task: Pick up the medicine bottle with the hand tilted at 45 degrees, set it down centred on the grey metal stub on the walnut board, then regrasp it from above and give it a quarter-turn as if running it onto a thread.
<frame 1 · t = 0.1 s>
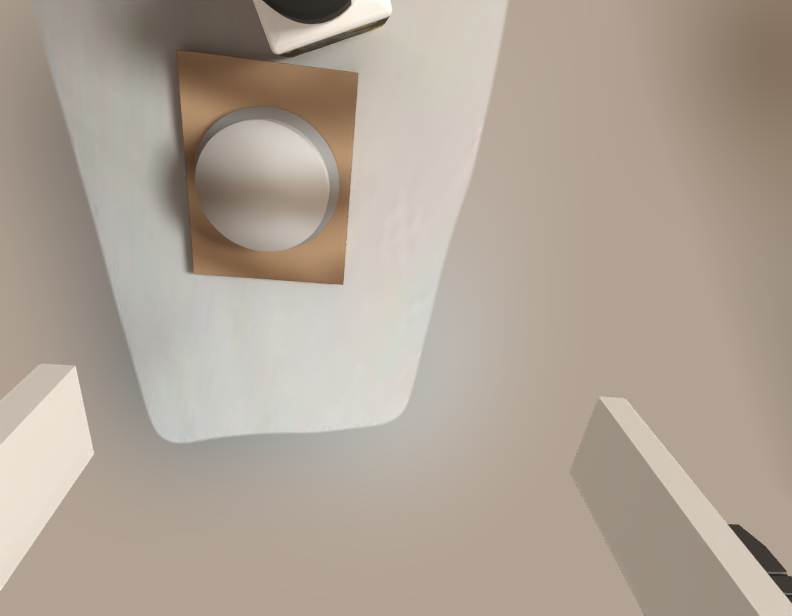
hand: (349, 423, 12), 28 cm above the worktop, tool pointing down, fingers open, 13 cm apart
stub board: (271, 178, 36), on the worktop
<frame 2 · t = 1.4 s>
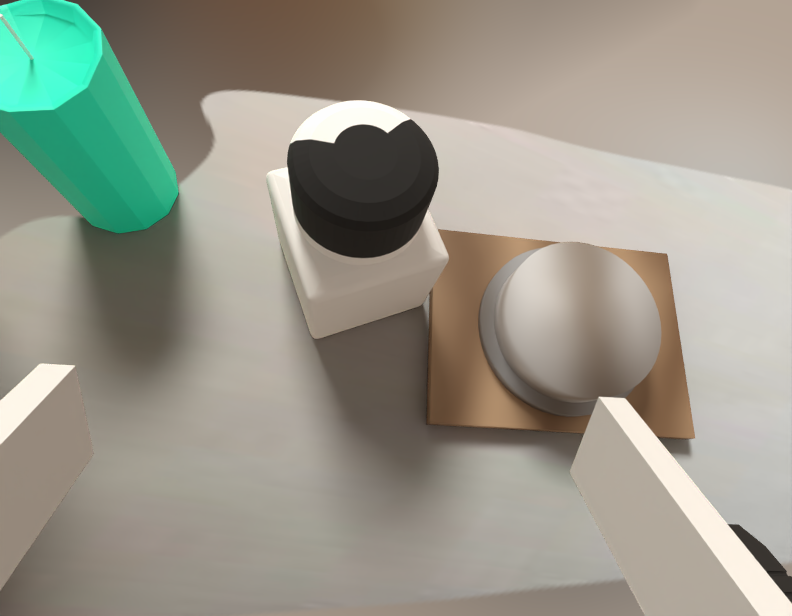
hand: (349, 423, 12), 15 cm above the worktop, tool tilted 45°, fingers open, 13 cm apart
stub board: (552, 334, 30), on the worktop
candle: (128, 191, 29), on the worktop
medicine bottle: (350, 272, 30), on the worktop
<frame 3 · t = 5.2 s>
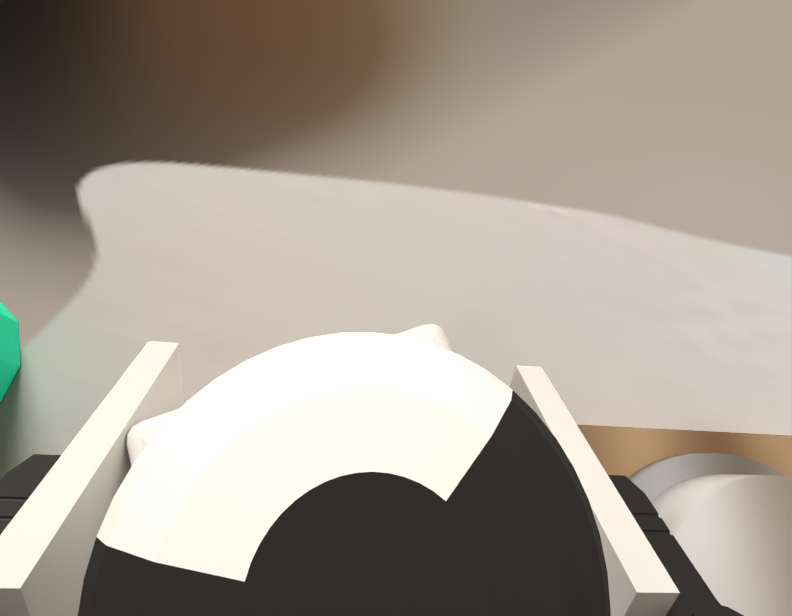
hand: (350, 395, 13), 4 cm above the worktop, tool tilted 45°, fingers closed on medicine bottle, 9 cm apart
stub board: (704, 609, 17), on the worktop
medicine bottle: (338, 505, 16), on the worktop, touching gripper
when the fingers open (9 cm above the worktop, at t = 9.1 s): medicine bottle drops 1 cm, resting on stub board.
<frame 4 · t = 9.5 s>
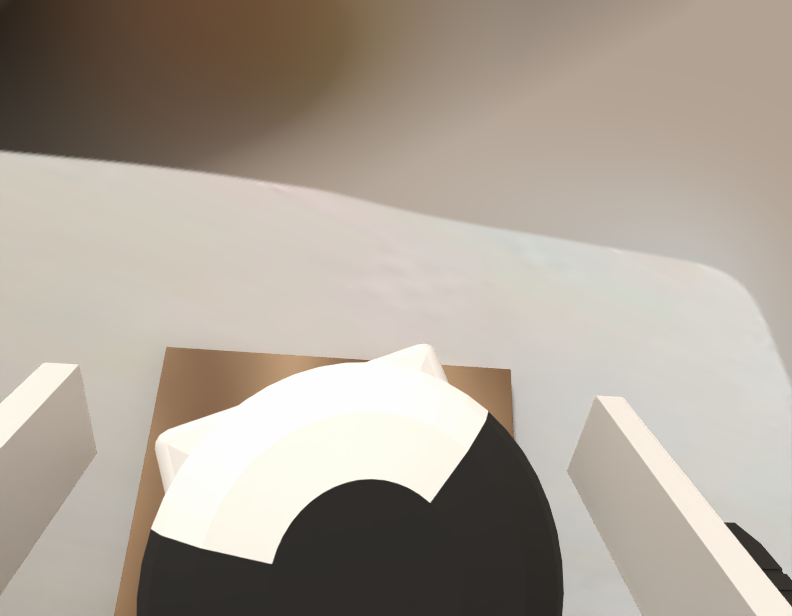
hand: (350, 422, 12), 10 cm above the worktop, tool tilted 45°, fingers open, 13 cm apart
stub board: (335, 495, 21), on the worktop
medicine bottle: (338, 504, 18), point 4 cm above the worktop, touching stub board
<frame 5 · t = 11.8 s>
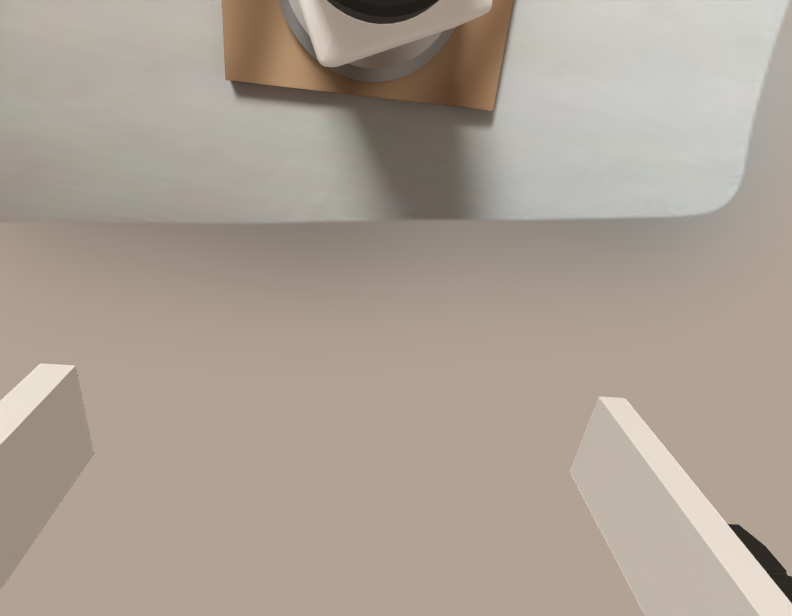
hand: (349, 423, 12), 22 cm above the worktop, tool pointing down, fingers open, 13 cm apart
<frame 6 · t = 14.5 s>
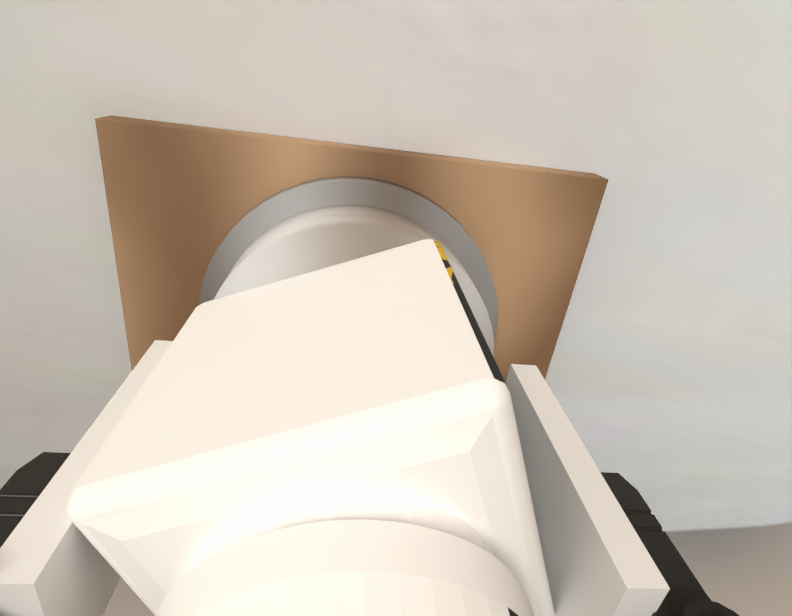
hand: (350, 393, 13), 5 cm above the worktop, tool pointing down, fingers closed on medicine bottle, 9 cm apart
stub board: (352, 307, 18), on the worktop
medicine bottle: (352, 365, 15), point 4 cm above the worktop, touching gripper, stub board
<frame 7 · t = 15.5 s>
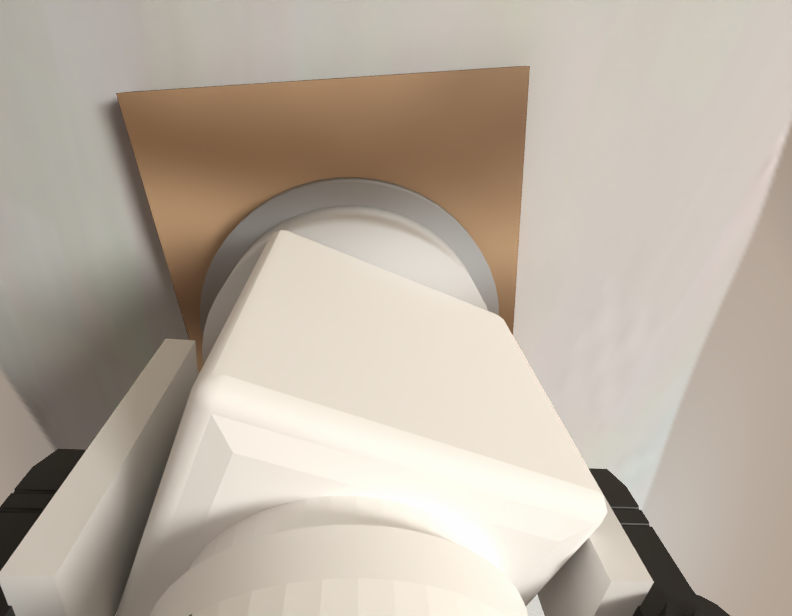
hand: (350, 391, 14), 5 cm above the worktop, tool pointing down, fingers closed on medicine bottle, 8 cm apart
stub board: (353, 308, 18), on the worktop
medicine bottle: (350, 365, 15), point 4 cm above the worktop, touching gripper, stub board
when the fingers open (5 cm above the worktop, at t = 15.5 s): medicine bottle stays where it is, resting on stub board.
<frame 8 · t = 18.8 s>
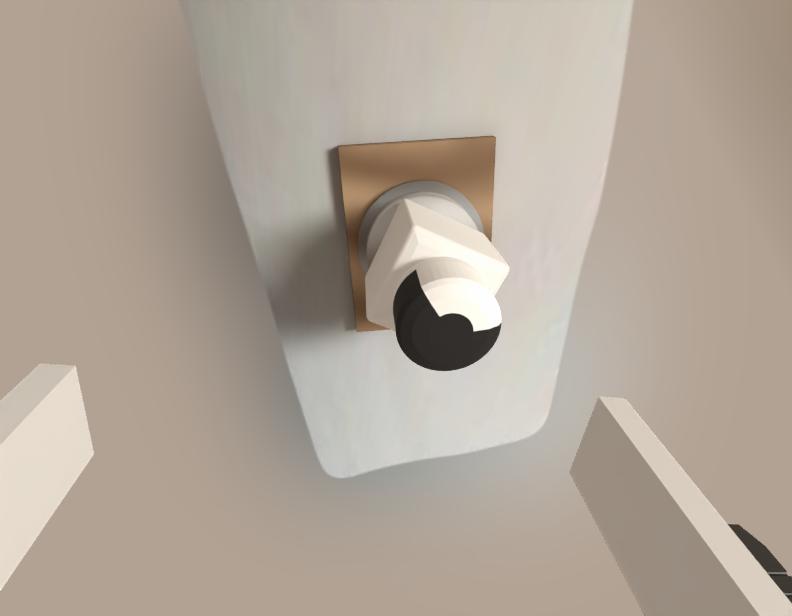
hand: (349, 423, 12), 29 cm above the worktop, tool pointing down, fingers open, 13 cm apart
stub board: (418, 239, 40), on the worktop
medicine bottle: (423, 255, 37), point 4 cm above the worktop, touching stub board
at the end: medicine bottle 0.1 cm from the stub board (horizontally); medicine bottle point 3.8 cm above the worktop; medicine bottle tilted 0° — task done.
